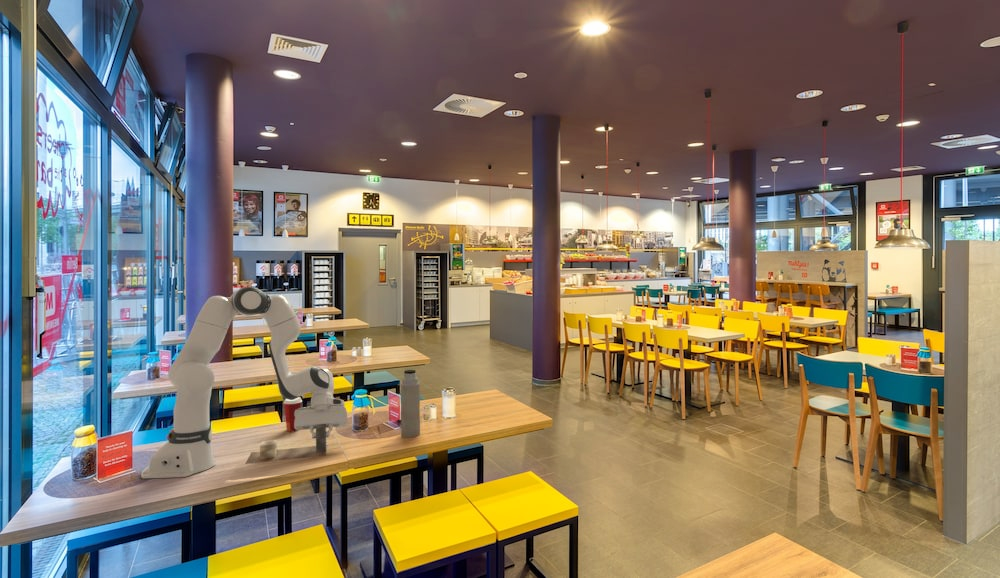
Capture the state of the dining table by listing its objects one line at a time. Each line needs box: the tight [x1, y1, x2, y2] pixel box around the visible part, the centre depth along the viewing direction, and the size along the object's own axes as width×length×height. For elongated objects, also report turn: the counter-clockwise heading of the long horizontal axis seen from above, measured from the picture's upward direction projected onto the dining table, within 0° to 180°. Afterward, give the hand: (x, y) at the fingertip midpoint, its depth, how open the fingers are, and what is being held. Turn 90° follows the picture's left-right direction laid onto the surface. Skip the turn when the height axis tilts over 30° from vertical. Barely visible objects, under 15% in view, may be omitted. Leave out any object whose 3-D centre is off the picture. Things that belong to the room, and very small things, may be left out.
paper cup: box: [283, 396, 303, 432], centre depth 224 cm, size 8×8×14 cm
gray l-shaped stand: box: [244, 424, 328, 464], centre depth 192 cm, size 28×12×11 cm, turn 106°
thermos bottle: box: [400, 369, 421, 438], centre depth 217 cm, size 8×8×28 cm
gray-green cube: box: [259, 439, 278, 459], centre depth 191 cm, size 5×5×5 cm
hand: (320, 437), depth 195 cm, fingers closed on gray l-shaped stand, 3 cm apart
